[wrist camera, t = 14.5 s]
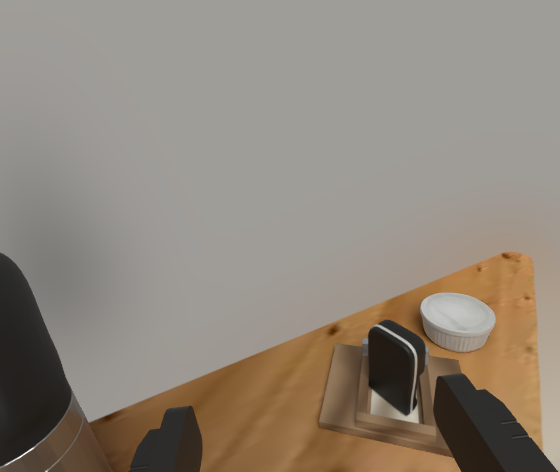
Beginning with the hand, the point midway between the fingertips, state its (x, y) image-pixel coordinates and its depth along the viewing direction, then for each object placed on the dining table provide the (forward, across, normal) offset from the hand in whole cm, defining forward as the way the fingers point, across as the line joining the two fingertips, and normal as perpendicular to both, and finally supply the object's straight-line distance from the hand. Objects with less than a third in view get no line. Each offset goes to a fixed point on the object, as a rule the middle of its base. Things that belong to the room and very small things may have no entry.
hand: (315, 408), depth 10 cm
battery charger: (+25, -13, +31) cm, 42 cm away
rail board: (+26, -14, +32) cm, 43 cm away
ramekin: (+36, -28, +32) cm, 56 cm away
